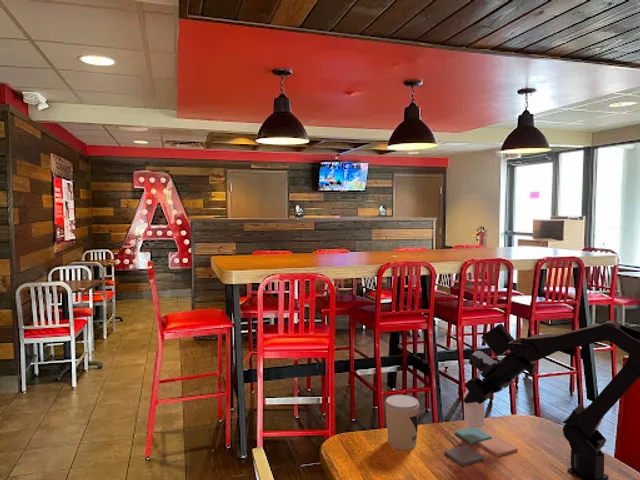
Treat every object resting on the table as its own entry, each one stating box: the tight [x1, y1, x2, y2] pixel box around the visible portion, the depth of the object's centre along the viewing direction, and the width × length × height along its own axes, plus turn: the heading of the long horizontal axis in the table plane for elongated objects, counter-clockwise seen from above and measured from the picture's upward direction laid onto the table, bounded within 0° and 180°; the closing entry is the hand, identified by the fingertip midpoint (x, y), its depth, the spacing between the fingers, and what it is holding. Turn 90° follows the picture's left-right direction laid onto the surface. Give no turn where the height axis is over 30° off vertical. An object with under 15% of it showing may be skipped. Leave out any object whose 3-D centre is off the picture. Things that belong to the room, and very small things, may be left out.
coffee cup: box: [384, 394, 420, 451], centre depth 133 cm, size 9×9×12 cm
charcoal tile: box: [443, 445, 485, 467], centre depth 125 cm, size 7×7×1 cm
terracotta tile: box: [478, 436, 519, 458], centre depth 130 cm, size 7×7×1 cm
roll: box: [463, 389, 486, 428], centre depth 136 cm, size 6×12×6 cm
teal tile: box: [454, 426, 493, 445], centre depth 136 cm, size 7×7×1 cm
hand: (469, 398), depth 137 cm, fingers closed on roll, 6 cm apart
